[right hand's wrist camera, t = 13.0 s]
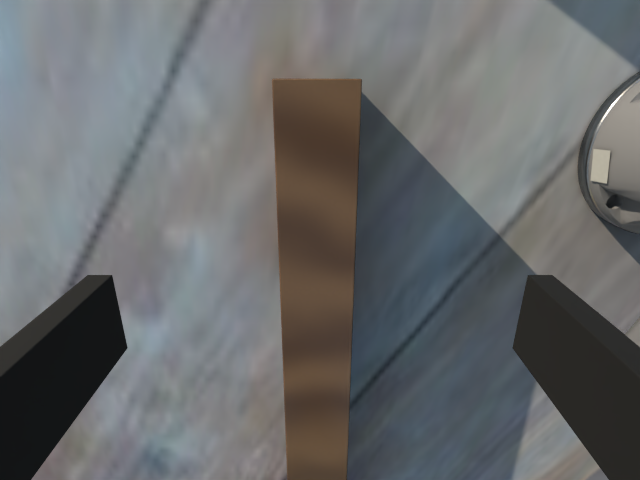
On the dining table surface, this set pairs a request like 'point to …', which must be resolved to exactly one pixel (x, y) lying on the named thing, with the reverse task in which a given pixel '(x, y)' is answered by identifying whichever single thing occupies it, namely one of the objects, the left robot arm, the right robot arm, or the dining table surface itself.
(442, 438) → the dining table surface
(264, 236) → the dining table surface
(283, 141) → the beam
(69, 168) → the dining table surface
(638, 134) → the right robot arm
